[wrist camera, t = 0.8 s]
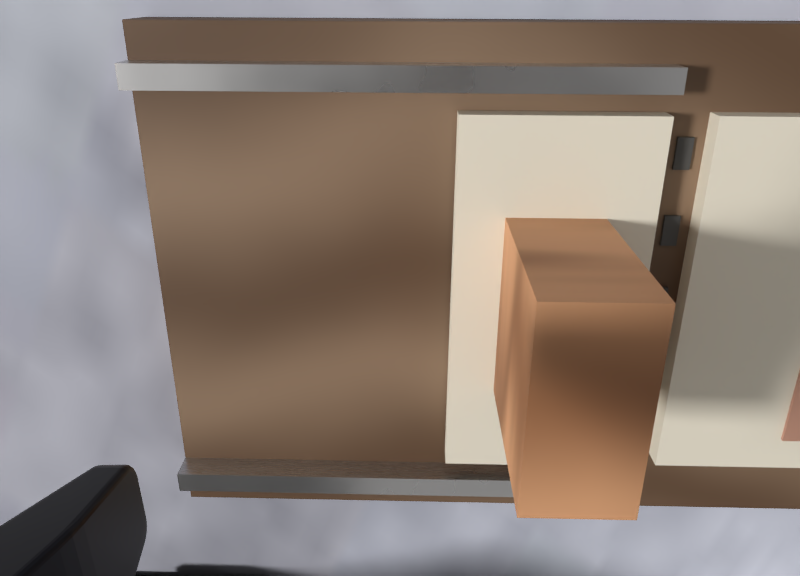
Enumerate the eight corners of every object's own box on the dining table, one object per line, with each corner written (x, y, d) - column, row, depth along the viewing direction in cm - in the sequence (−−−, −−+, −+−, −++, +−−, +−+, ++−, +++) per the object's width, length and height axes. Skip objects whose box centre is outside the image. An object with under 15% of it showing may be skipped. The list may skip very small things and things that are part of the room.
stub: (612, 453, 21) (677, 608, 16) (444, 450, 21) (453, 603, 16) (665, 112, 17) (776, 168, 12) (457, 110, 17) (474, 165, 12)
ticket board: (871, 479, 23) (917, 529, 21) (204, 466, 23) (183, 514, 21) (1027, 22, 17) (1113, 27, 15) (145, 16, 18) (108, 21, 15)
